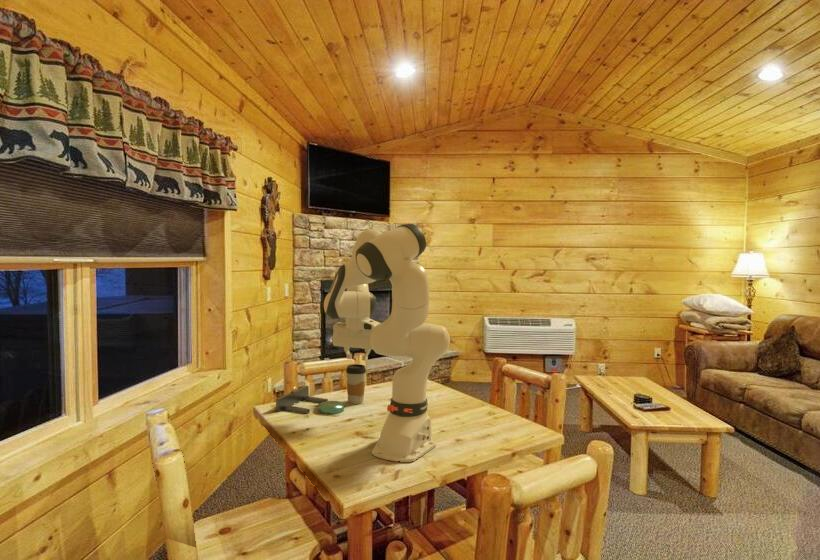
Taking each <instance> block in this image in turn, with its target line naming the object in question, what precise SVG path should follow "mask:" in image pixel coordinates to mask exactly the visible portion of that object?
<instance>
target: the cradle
mask: <svg viewBox="0 0 820 560" xmlns="http://www.w3.org/2000/svg"><path fill="white" fill-rule="evenodd" d="M309 387H310V386H309V385H304V386H302V387H299V388H297V389H296V386H291V387H290V392H288V393H286V394H283V395H282V396H279V397H276V398H275V411H276V412H277V413H280V412H282V411H286V410H288V412H292V411H295V412H294V413H298V412H299V413H300V414H306V415H308V414H309V413H310V408H308V407H307V408H305V407H300V406H299V407H298V406H295V405H293V404H294V403H297V402H299V401H301V400H303V401H304V400H307V401H306V402H311V401H314V402H313V403H318V402H319V403H321V402H325V401H329V398H323V397H315V396H309V393H310V392H309V390H310V389H309ZM301 402H302V401H301ZM299 403H300V402H299ZM297 404H298V403H297ZM291 405H293V406H291Z"/></svg>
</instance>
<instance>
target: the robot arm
mask: <svg viewBox="0 0 820 560" xmlns="http://www.w3.org/2000/svg"><path fill="white" fill-rule="evenodd" d="M426 240H427V239H426V236H425V233H424V232H423V231H422V228H420V227H419V226H417V225H416V224H414V223H403V224H400V225H398V226H397V227H395V228H392V229H390V230H388V231H385V232H381V231H379V230H378V229H374V228H373V229H371V228H369V229H365V230H362V232H360V233H359V234H358V236H357V238H356V240H355V242H354V245H353V249H352V252H351V257H350V258H349V260H347V262H345V263H343V264H342V265H340V266H339V267H338V269H337V271H336V273H335V276H334V278H333V280H332V283H331V286H330V288H329V291H328V292H327V294H326V295H325V298H324V300H323V310H324V314H326V316H328V318H330V319H332V320H336V319H337V320H338V319H345V322H344V321H343V322H342V321H341V322H340V321H337V322H335V323H334V325H333V326H332V330H333V331H332V332H333V333H332V341H331V344H332V345H333V346H334V347H341V348H343V350H344V353H345V354H346V359H349V360H351V359H353V353H351V352H350V348H351V349H352V348H353V349H362V350H363V349H364V352H365V354H363V355H362V356H361V358H362V359H361V360H362V361H368V359H369V358H368V357H369V355H370V353H371V351H372V350H373V352H374V353H375V354H376V355H377V354H378V355H381V356H386V357H393V358H394V357H395V358H397V357H399V358H411V359H412V360H411V362H410V363H409V364H407V365H405V366H403V367H401V368H399V369H397V370H396V371H395V372H394V373H393V376H392V382H391V383H392V389H391V390H392V392H391V399H390V403H389V404H388V405H387V406H386V411H387V412H388V414H387V416H386V419H385V422H384V423H383V426H382V429H381V431H380V434H379V435H380V437H379V439H378V440H377V442H376V443H375V445H374V447H373V449H372V450H371V455H373V456H374V457H376V458H379V459H382V460H386V461H392V462H398V461H400V462H399V463H413V462H415V461H417V460H418V459H420V458H421V457H423V455H425V454H427V453H428V452H429V451H431V450H432V449H434V448H436V446H437V442H436V441H435V440H433V431H432V427H433V426H432V419H431V417H430V416H429V415H428V412H427V411H428V406H429V404H428V399H427V386H428V385H427V384H428V377H429V374H430V371H431V370H432V367H433V366H434V365H435V363H436V362H437V361H438V360H439V359H440V358H441V357H443V356H444V355H445V354H446V353H448V350H449V349H450V345H451V336H450V333H449V331H448V330H447V328H446V327H445V326H444V325H439V324H436V323H430V322H429V323H428V322H427V323H426V320H427V318H428V316H429V310H430V309H429V307H430V283H429V282H430V281H429V277H428V273H427V270H426V268H425V267H423V266H422V265H421V264H419V263H417V262H413V260H414V259H417V258H418V257H420V256H421V255H422V254H423V253H424V251H425V250H426V248H427V241H426ZM376 281H378V282H380V283H382V284H384V283H388V282H389V281H390V284H391V312H390V315H389V316H388V318H386V319H384V321H383V322H379V321H376V320H374V319H371V317H372V316H373V315H375V313H376V311H377V305H376V304H377V303H376V301H377V297H376V296H375V295H374V294H373V293H372V292H370V290H369V289H370V288H369V284H372V283H374V282H376ZM345 290H346V291H345ZM419 457H420V458H419ZM416 459H417V460H416ZM412 461H413V462H412Z"/></svg>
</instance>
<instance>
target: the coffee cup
mask: <svg viewBox="0 0 820 560" xmlns="http://www.w3.org/2000/svg"><path fill="white" fill-rule="evenodd" d="M345 372H346V391H347V401H348V403H349V404H350V405H351V404H352V405H360V404H363V403H364V399H365V388H366V372H367V368H366V365H365V364H361V363H360V364H357V363H356V364H354V363H353V364H348V365H347V368H346V370H345Z"/></svg>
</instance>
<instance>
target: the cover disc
mask: <svg viewBox="0 0 820 560" xmlns="http://www.w3.org/2000/svg"><path fill="white" fill-rule="evenodd" d="M317 407H318V408H317V412H318V413H320V414H322V415H326V416H327V415H330V416H331V415H332V416H333V415H339V414H341V413H343V412H345V403H344V402H342V401H340V400H339V401H338V400H328V401H325V402H321V403H319V404H318V405H317Z"/></svg>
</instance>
